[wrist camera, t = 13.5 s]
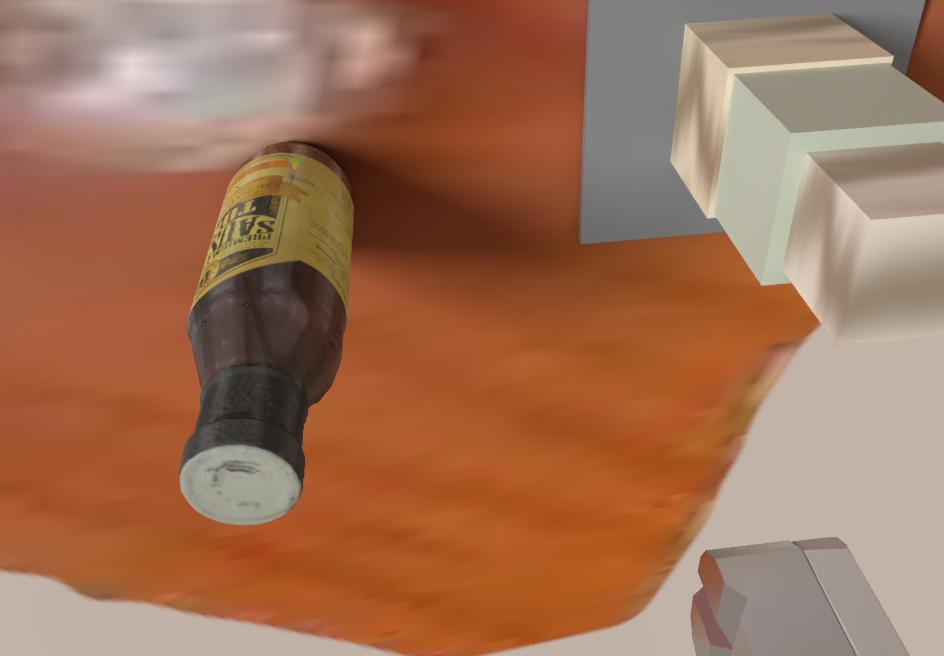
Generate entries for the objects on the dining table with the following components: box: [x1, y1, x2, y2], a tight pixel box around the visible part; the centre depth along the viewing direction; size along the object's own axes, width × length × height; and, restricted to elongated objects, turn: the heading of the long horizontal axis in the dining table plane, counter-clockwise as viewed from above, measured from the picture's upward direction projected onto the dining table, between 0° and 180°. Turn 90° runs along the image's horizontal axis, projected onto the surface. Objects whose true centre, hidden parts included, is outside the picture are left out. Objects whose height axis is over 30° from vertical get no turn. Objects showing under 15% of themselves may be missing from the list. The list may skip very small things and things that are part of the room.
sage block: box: [713, 63, 944, 285], centre depth 35 cm, size 6×6×6 cm
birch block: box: [670, 13, 894, 219], centre depth 40 cm, size 7×7×6 cm
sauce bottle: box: [179, 142, 354, 525], centre depth 36 cm, size 6×6×20 cm
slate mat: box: [579, 0, 925, 244], centre depth 43 cm, size 16×16×1 cm
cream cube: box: [782, 142, 944, 346], centre depth 31 cm, size 5×5×5 cm
